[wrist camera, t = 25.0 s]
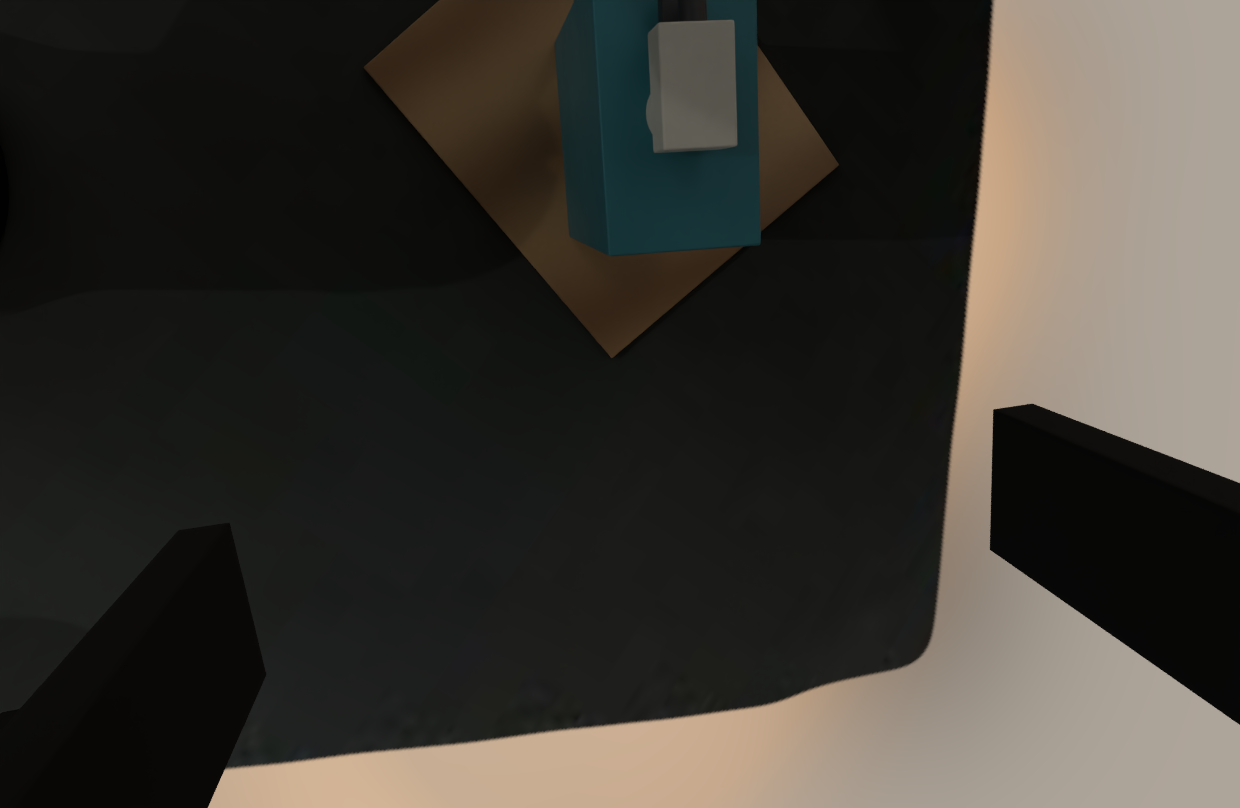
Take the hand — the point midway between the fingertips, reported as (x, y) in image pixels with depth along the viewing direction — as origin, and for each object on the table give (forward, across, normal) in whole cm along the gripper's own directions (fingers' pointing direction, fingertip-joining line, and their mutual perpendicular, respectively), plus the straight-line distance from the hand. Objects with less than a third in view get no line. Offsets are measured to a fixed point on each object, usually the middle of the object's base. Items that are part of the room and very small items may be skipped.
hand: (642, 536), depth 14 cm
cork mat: (+34, +6, +9) cm, 35 cm away
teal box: (+24, +6, +3) cm, 25 cm away
